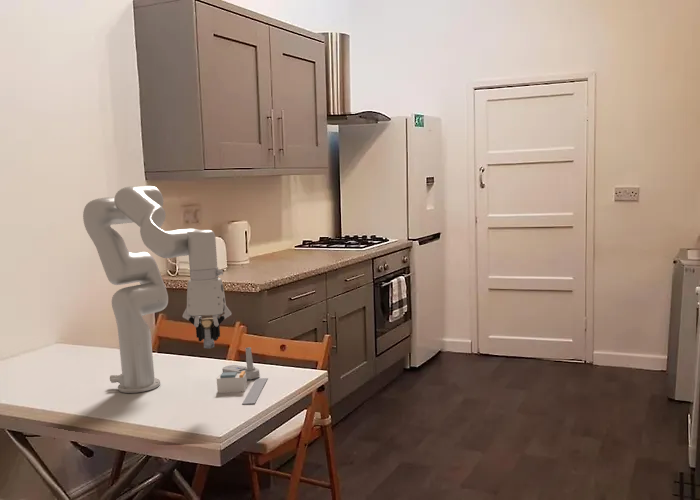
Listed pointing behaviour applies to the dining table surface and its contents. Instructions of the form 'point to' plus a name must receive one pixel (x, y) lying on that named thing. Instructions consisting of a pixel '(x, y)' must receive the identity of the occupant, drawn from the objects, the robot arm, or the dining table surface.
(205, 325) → the knob
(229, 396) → the dining table surface
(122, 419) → the dining table surface
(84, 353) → the dining table surface
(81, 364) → the dining table surface
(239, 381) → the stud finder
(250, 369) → the electronic device
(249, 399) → the strip
